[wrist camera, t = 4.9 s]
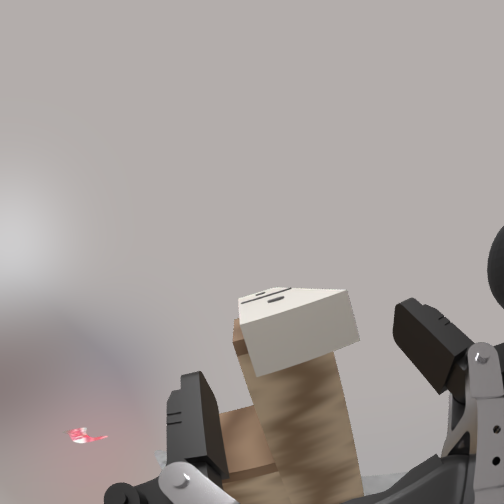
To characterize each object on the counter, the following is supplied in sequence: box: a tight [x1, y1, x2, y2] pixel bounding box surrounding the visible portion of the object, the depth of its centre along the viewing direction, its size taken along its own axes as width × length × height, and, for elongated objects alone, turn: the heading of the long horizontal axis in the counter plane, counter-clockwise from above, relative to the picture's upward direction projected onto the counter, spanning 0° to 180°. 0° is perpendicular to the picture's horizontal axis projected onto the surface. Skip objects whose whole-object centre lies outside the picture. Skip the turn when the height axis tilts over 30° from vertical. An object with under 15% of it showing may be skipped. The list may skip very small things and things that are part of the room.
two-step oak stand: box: [219, 318, 364, 504], centre depth 22 cm, size 13×12×32 cm
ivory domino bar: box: [238, 287, 360, 377], centre depth 20 cm, size 4×20×2 cm, turn 3°
